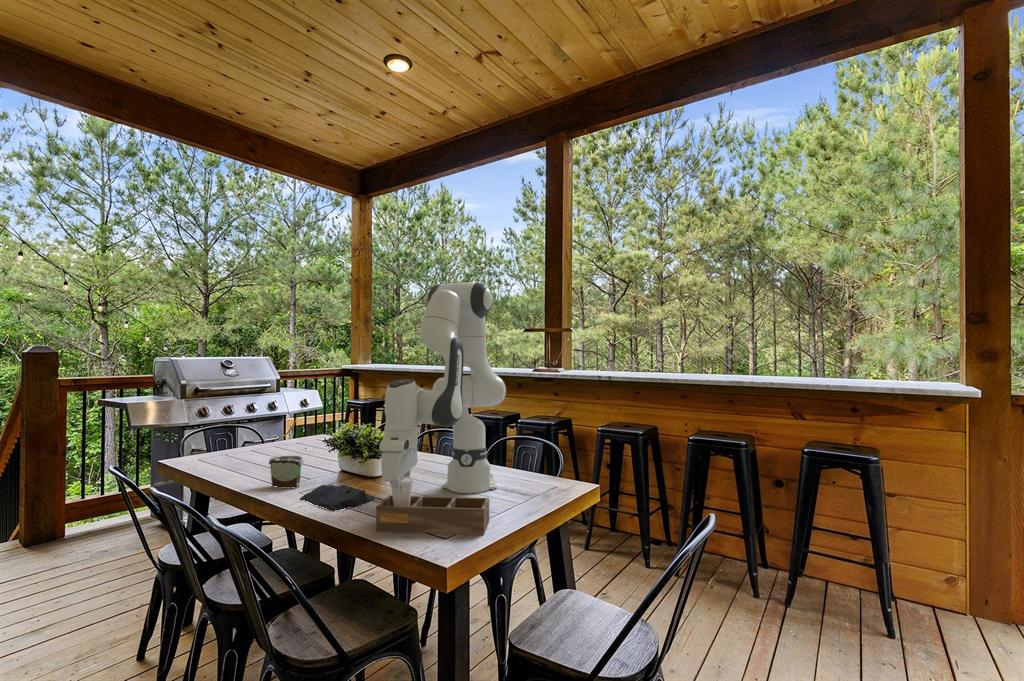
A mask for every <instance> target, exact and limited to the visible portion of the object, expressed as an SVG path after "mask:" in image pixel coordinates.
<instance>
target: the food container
mask: <svg viewBox="0 0 1024 681" xmlns="http://www.w3.org/2000/svg"><path fill="white" fill-rule="evenodd" d="M268 465H269V467H270V477H271V487H272V486H277V487H295V488H297V487H298V488H299V487H300V483H301V482H300V481H301V474H302V473H301V472H302V466H303V465H304V460H303V457H302V456H299V455H283V456H281V455H280V456H274V457H270V458H269V460H268ZM298 488H297V489H298Z"/></svg>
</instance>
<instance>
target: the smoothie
mask: <svg viewBox="0 0 1024 681" xmlns="http://www.w3.org/2000/svg"><path fill="white" fill-rule="evenodd" d="M413 484H414V478H412V477H411V476H410V477H403V476H402V477H401V478H400V486H401V492H400V493H399V494H398V495H394V494H393V487H392V484H391V482H389V485H390V488H391V496H392V497H393V504H394V506H410V500H411V496H412V489H413Z"/></svg>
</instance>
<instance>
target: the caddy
mask: <svg viewBox="0 0 1024 681" xmlns="http://www.w3.org/2000/svg"><path fill="white" fill-rule="evenodd" d="M489 523H490V498H489V497H462V496H461V497H459V496H425V495H424V496H423V495H421V496H419V495H411V500H410V506H394V504H393V497H392V495H388V496H387V497H385V499H383V500H382V501H381V502H379V504H377V505H376V507H375V532H380V531H393V532H392V533H411V532H415V534H417V533H419V534H420V533H421V534H445V535H447V534H451V535H477V536H480V535H481V536H484V535H485V534H486V531H487V528H488V525H489Z"/></svg>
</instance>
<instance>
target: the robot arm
mask: <svg viewBox="0 0 1024 681" xmlns="http://www.w3.org/2000/svg"><path fill="white" fill-rule="evenodd" d="M492 292H493V291H492V289H491V288H490V287H489V286H488V284H485V283H481V282H468V281H467V282H466V281H459V282H451V283H438V284H435V285H433V286H432V287H431V288H430V290H429V291H428V293H427V300H426V301H427V306H426V309H425V311H424V315H423V318H422V321H421V322H422V323H421V326H420V334H419V335H420V339H421V341H422V343H423V344H424V346H425V347H426V348H428V350H430V351H432V352H433V353H436V354H437V355H439V356H441V357H442V358H443V360H444V375H443V377H440V378H437V379H436V381H435V382H434V383H433V386H432V389H431V390H430V389H429V390H428V389H424V388H422V387H420V386H419V385H418V384H416V381H415V380H414V379H411V378H402V379H396V380H394V381H391V382H389V383H388V384H387V387H386V390H385V397H384V398H385V399H384V415H385V416H384V417H385V421H386V422H385V425H384V435H383V437H382V438H383V439H382V440H381V441H380V442H379V452H381V456H380V459H381V460H380V461H381V462H380V463H381V469H380V470H381V477H382V481H383V482H385V483H386V482H389V483H390V482H391V484H392V487H393V494H394V495H398V494H399V493H400V492H401V486H400V478H401V477H402V476H403V477H411V472H412V471H411V470H412V469H413V468H415V467H416V466H417V464H418V441H419V440H418V439H419V438H418V435H419V432H418V424H426V425H435V426H438V427H439V426H440V427H443V428H450V427H452V434H453V436H452V438H453V447H452V449H451V450H452V451H451V455H452V456H451V457H452V460H451V461H450V462H449V463H448V464H447V479H446V482H445V483H443V484H442V488H443V489H446V490H449V491H451V492H453V493H458V494H476V493H483V492H486V491H490V489H492V490H496V489H497V483H496V479H495V477H494V476H493V474H492V473H491V464H490V462H489V461H488V459H487V456H488V449H487V446H486V425H485V424H484V421H482V420H481V419H479V418H477V417H476V416H473V415H471V414H470V412H469V408H477V407H478V408H480V407H481V408H482V407H483V408H484V407H485V408H486V407H492V406H497V405H499V404H501V403H502V402H504V399H505V398H506V393H507V388H506V384H505V381H504V380H503V379H502V378H501V377H500V376H499V375H497V374H496V373H495V372H494V370H493V369H492V368H491V365H490V364H489V360H488V354H487V321H486V315H487V314H488V313H489V312H490V310H491V309H492V307H493V300H494V299H493V293H492ZM464 366H465V367H467V368H469V369H470V373H471V374H469V375H464ZM495 488H496V489H495Z"/></svg>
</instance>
